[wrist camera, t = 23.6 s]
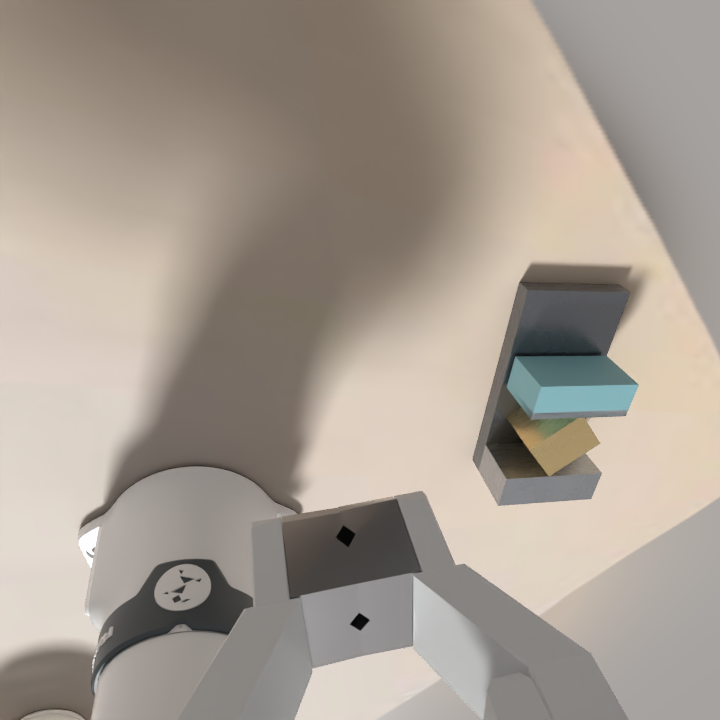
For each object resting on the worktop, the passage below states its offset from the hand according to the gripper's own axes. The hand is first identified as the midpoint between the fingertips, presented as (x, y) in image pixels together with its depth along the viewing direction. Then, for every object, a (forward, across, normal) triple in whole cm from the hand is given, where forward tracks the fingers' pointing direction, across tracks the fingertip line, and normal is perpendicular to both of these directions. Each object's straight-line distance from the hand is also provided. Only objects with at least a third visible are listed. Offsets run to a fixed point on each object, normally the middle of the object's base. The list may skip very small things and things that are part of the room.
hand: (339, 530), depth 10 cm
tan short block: (+30, -21, +24) cm, 43 cm away
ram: (+29, -22, +19) cm, 41 cm away
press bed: (+31, -22, +21) cm, 43 cm away
